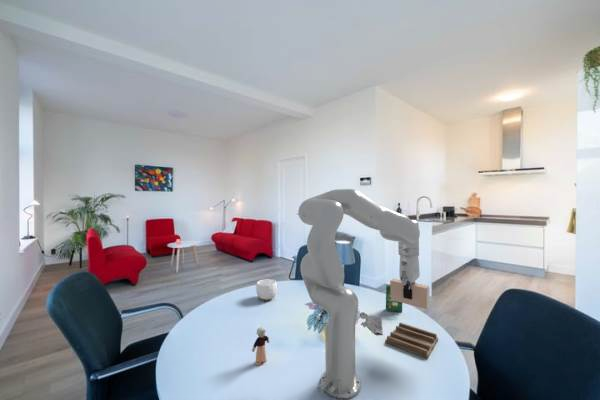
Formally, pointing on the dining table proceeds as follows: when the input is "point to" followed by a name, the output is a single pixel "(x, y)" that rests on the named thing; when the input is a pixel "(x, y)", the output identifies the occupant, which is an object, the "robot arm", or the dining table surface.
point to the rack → (413, 340)
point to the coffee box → (392, 302)
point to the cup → (266, 289)
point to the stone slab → (372, 323)
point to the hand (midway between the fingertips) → (409, 296)
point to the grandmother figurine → (260, 346)
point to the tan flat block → (418, 294)
